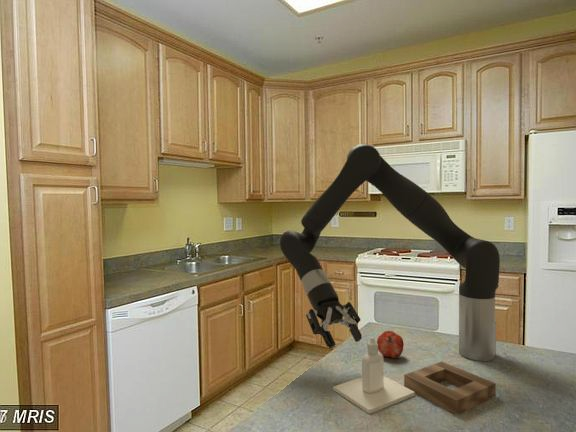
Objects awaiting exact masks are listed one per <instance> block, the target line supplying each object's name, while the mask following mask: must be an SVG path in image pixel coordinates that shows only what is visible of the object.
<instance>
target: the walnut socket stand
mask: <svg viewBox="0 0 576 432" xmlns="http://www.w3.org/2000/svg"><path fill="white" fill-rule="evenodd" d="M403 379H404V380H403V386H404V387H406V388H408V389H410V390H412V391H414V392H415V395H418V396H421V397H422V398H424V399H426V400H428V401H430V402H432V403H434V404H436V405H438V406H439V407H441V408H443V409H445V410H447V411H449V412H451V413H453V414H455V415H456V416H458V415H460V414H462V413H464V412H466V411H468V410H470V409H472V408H475V407H476V406H478V405H481V404H482V403H484V402H487V401H489V400H491V399H493V398H496V395H497V394H496V391H497V386H496V385H497V383H496V382H494V381H492V380H489V379H487V378H483V376H479V375H476V374H475V373H472V372H471V371H470V372H469V371H467V370H464V369H462V368H459V367H458V366H455V365H453V364H449V363H447V362H444V361H440V362H437V363H433V364H431V365H428V366H424V367H422V368H419V369H417V370H414V371H411V372H408V373H405V374H403ZM443 382H447V383H448V384H451V385H453V386H455V387H456V388H455V389H452V388H450V387H448V386H446V385H443V384H442V383H443Z"/></svg>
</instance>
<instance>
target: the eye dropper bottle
mask: <svg viewBox="0 0 576 432" xmlns="http://www.w3.org/2000/svg"><path fill="white" fill-rule="evenodd" d="M366 345H367V349H366V350H367V352H365V354H364V355H363V357H362V360H361V377H362V390H363V391H365V392H367V393H375V392H378V391H380V390H381V389H382V388H383V386H384V376H385V375H384V374H385V373H384V372H385V371H384V370H385V369H384V364H385V363H384V356H383V355H382V354H381V353H380V352H379V350H378V343H377V341H376V340H375V337H372V336H371V338H370V340H369V341H368V342H367V344H366Z"/></svg>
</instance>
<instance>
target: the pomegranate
mask: <svg viewBox="0 0 576 432" xmlns="http://www.w3.org/2000/svg"><path fill="white" fill-rule="evenodd" d="M376 343H378V352H379V353H381V354H382V355H383V357H386V358H392V359H397V358H399V357H400V356H401V355H402V354H403V351H404V345H405V343H404V339H403V338H402V336H400V335H399V334H397V333H396V332H394V331H393V330H385V331H383V332H382V333H381V334H380V335H379V336H378V337H377V340H376Z"/></svg>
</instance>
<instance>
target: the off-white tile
mask: <svg viewBox="0 0 576 432" xmlns="http://www.w3.org/2000/svg"><path fill="white" fill-rule="evenodd" d="M332 389H333V391H334V392H336V393H337V394H339V395H340V396H342V397H343V398H345V399H347V401H349V402H351V403H353V405H355V406H357V407H358V408H360V409H361V410H363V411H364V412H365V413H367V414H369V415H370V414H373V413H375V412H377V411H380V410H383V409H385V408H387V407H390V406H392V405H394V404H396V403H400V402H401V401H404V400H408V399H409V398H412V397H414V396H416V393H415V392H414V391H412V390H410V389H408V388H406V387H404V385H402V384H400V383H399V382H396V381H394V380H392V379H391V378H388V377H387V376H385V375H384V386H383V388H382V389H381V390H380V391H378V392H375V393H367V392H365V391H363V390H362V376H361V377H357V378H356V379H352V380H349V381H347V382H343V383H340V384H338V385H334V386H333V388H332Z"/></svg>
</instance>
